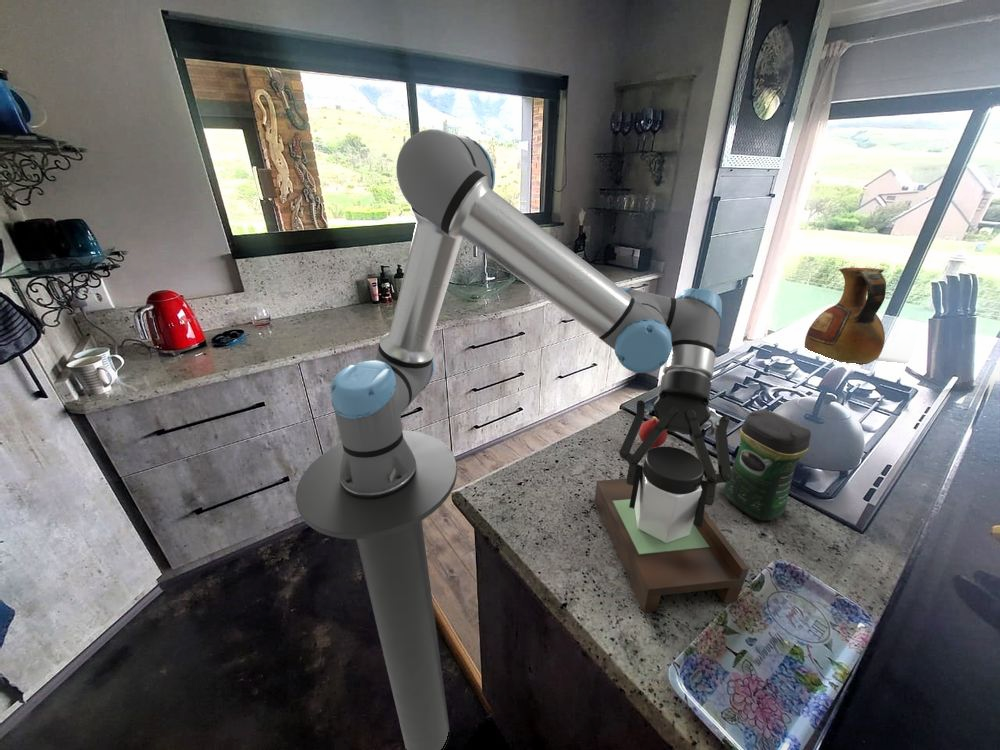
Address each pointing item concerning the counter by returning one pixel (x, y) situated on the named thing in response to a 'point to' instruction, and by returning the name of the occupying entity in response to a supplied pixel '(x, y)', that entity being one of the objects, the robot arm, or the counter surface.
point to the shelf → (668, 553)
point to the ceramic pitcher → (852, 320)
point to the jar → (668, 493)
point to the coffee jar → (765, 464)
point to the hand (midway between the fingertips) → (663, 516)
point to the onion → (647, 429)
